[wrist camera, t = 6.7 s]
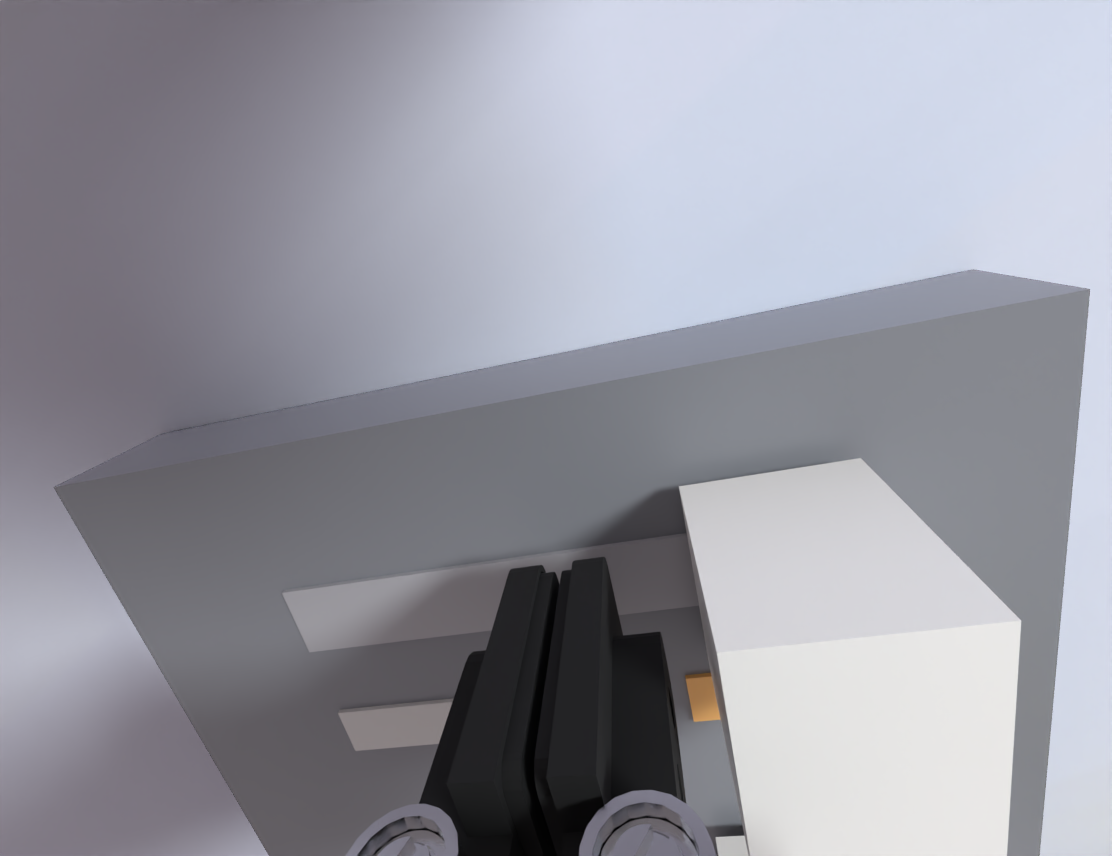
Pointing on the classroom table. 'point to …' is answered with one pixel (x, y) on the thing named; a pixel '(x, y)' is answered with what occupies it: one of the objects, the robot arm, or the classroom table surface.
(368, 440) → the switch box
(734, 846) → the switch
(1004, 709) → the switch
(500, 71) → the classroom table surface
